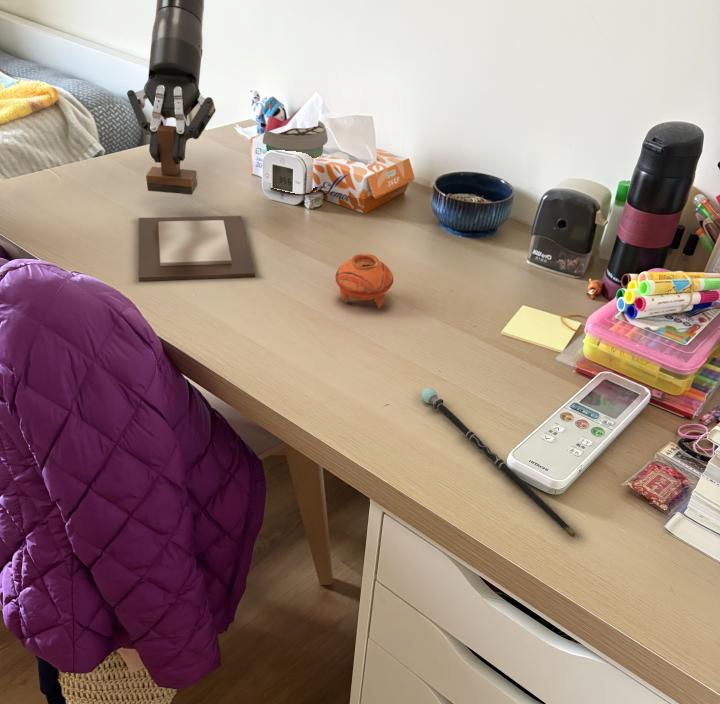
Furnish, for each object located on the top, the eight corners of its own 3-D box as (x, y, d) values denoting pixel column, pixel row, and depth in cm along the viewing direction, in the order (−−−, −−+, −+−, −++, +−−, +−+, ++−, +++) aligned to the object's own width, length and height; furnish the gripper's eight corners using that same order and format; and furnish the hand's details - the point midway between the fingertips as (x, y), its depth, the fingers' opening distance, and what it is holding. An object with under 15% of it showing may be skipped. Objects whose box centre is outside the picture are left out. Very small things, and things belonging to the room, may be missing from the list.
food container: (283, 202, 123) (283, 141, 116) (263, 190, 126) (262, 130, 119) (339, 189, 129) (342, 130, 122) (319, 178, 132) (321, 120, 125)
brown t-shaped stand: (147, 191, 112) (139, 130, 106) (154, 181, 115) (146, 122, 109) (192, 194, 112) (187, 134, 106) (197, 185, 115) (192, 125, 109)
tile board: (139, 281, 99) (137, 273, 98) (139, 221, 113) (138, 213, 112) (255, 276, 102) (254, 269, 101) (241, 219, 116) (240, 211, 116)
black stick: (569, 544, 69) (566, 538, 68) (421, 400, 84) (416, 392, 82) (582, 532, 69) (580, 525, 68) (432, 390, 84) (427, 382, 82)
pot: (405, 296, 100) (405, 256, 95) (370, 327, 97) (368, 287, 92) (361, 275, 104) (358, 235, 98) (326, 304, 100) (321, 264, 95)
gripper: (123, 30, 106) (112, 144, 105) (217, 39, 106) (207, 152, 105) (137, 62, 113) (128, 168, 113) (225, 70, 114) (216, 176, 113)
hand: (166, 160), depth 109 cm, fingers closed on brown t-shaped stand, 2 cm apart
